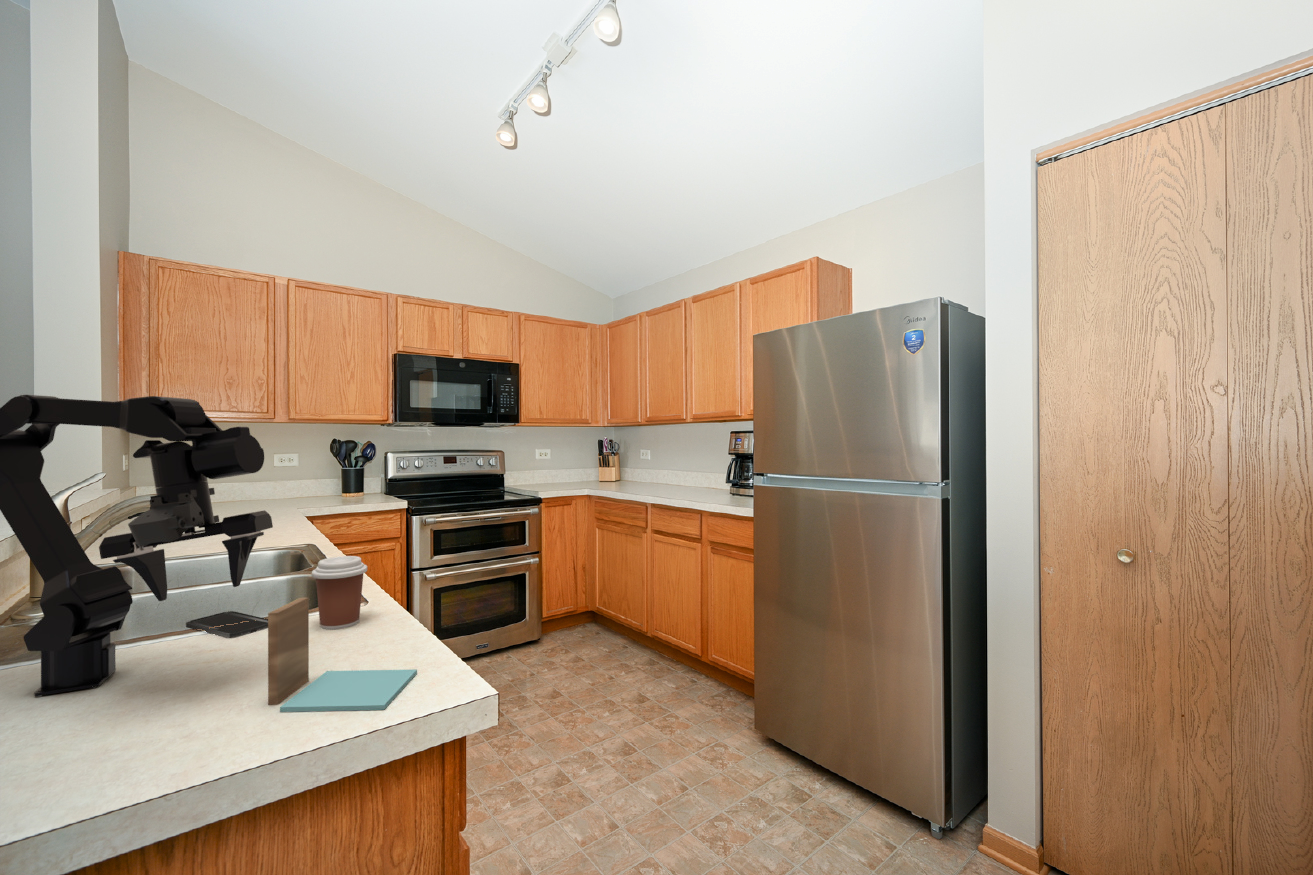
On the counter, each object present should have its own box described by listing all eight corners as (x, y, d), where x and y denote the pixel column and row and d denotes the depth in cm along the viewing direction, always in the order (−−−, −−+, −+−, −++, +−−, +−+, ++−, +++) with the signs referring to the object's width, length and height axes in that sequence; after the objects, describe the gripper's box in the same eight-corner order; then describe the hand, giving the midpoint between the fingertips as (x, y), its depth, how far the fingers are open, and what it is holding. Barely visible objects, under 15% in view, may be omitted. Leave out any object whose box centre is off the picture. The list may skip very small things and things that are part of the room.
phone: (230, 610, 110) (277, 621, 104) (230, 616, 110) (277, 627, 104) (182, 622, 103) (229, 634, 96) (182, 628, 103) (229, 641, 96)
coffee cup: (358, 630, 101) (358, 564, 101) (302, 633, 99) (302, 566, 99) (373, 614, 110) (373, 553, 110) (322, 617, 108) (322, 555, 108)
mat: (279, 711, 71) (279, 707, 71) (327, 674, 82) (327, 670, 82) (384, 709, 72) (384, 705, 72) (417, 673, 83) (417, 669, 83)
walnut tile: (268, 705, 73) (268, 613, 73) (300, 681, 80) (300, 597, 80) (277, 704, 73) (277, 613, 73) (308, 681, 80) (308, 597, 80)
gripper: (55, 501, 69) (76, 625, 69) (225, 475, 73) (245, 592, 73) (121, 495, 80) (138, 602, 80) (265, 472, 84) (282, 574, 84)
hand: (200, 593), depth 79 cm, fingers open, 9 cm apart
